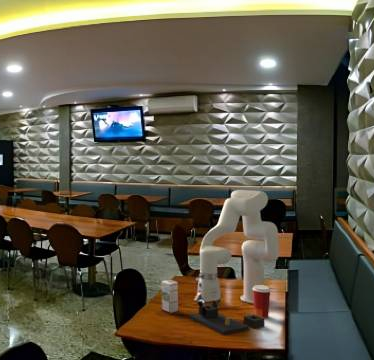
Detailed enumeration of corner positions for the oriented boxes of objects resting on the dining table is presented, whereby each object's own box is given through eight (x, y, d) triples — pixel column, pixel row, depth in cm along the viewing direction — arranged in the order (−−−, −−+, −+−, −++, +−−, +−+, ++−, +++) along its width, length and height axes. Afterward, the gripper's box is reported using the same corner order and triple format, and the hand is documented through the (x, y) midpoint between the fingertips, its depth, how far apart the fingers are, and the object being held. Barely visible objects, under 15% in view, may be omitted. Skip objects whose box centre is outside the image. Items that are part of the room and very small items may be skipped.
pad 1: (209, 312, 210) (209, 304, 210) (218, 316, 205) (218, 308, 204) (198, 313, 208) (198, 306, 208) (207, 317, 202) (207, 310, 202)
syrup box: (178, 310, 218) (178, 281, 217) (169, 313, 215) (169, 283, 214) (169, 307, 223) (169, 279, 222) (161, 309, 220) (161, 281, 219)
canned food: (213, 301, 231) (213, 281, 230) (196, 301, 232) (196, 280, 232) (210, 297, 238) (210, 277, 238) (195, 296, 240) (195, 276, 239)
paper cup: (269, 314, 211) (269, 285, 211) (271, 320, 204) (272, 290, 203) (251, 312, 214) (251, 284, 213) (253, 318, 207) (253, 288, 206)
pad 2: (253, 322, 202) (253, 314, 202) (264, 326, 196) (264, 318, 196) (243, 323, 200) (243, 316, 200) (254, 328, 194) (254, 320, 194)
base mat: (212, 313, 214) (212, 304, 213) (248, 329, 193) (248, 319, 193) (189, 317, 209) (189, 308, 208) (223, 334, 188) (223, 324, 188)
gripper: (199, 279, 199) (198, 319, 200) (229, 275, 205) (228, 314, 206) (188, 275, 206) (187, 314, 207) (217, 272, 212) (217, 309, 213)
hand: (208, 313), depth 206 cm, fingers closed on pad 1, 6 cm apart
